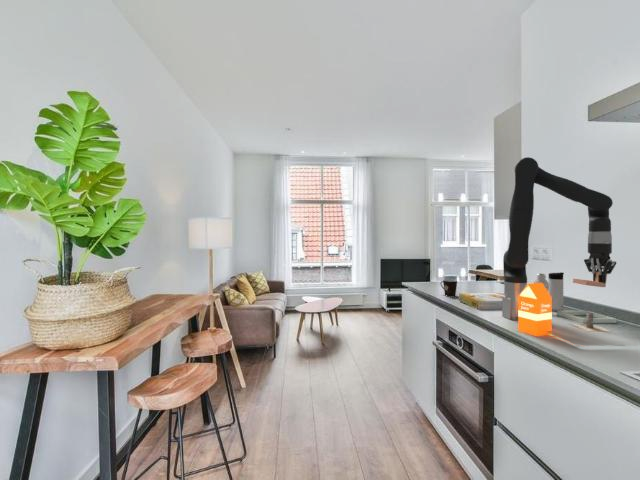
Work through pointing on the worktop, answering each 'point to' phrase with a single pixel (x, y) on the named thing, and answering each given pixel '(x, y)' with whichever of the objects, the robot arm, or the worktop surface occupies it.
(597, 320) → the tray
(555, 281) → the travel mug
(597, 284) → the collar
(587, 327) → the wooden peg stand
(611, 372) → the worktop surface
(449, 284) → the coffee mug
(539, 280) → the plastic bottle
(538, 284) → the orange juice
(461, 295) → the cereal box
